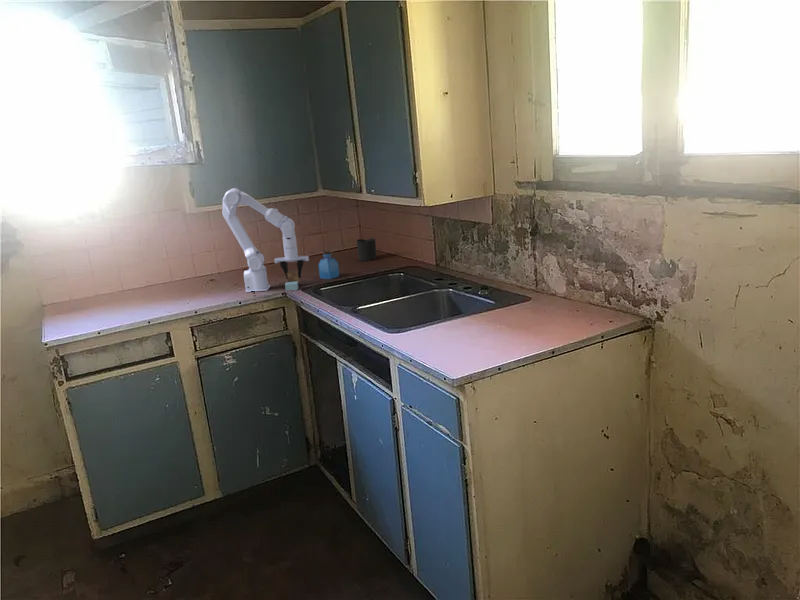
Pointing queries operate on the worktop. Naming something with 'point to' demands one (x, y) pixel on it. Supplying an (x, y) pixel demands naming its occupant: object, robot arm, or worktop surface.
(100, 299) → the worktop surface
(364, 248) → the pen holder
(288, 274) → the walnut cube
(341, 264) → the worktop surface
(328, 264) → the perfume bottle
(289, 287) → the blue block
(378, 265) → the worktop surface
